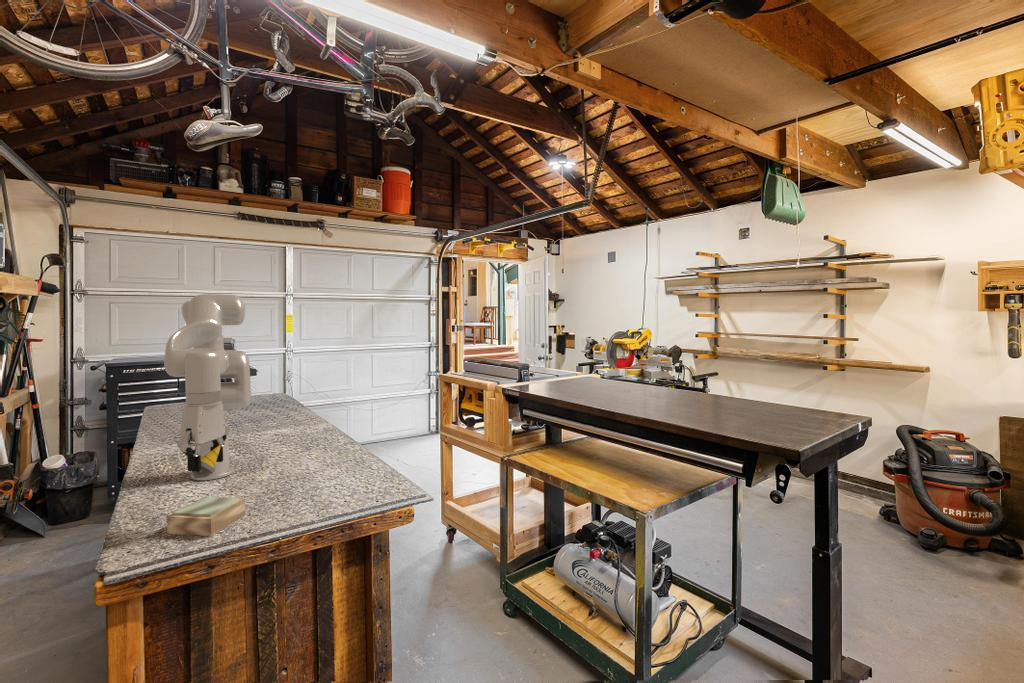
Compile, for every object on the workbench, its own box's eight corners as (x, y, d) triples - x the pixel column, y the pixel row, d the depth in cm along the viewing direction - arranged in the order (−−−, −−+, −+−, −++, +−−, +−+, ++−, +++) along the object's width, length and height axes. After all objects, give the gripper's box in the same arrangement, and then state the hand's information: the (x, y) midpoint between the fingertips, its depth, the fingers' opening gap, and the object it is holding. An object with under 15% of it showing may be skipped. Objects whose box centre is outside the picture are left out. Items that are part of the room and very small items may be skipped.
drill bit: (186, 477, 116) (213, 444, 122) (206, 485, 116) (232, 452, 122) (181, 471, 111) (209, 436, 118) (202, 479, 112) (229, 444, 118)
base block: (167, 533, 113) (166, 513, 112) (205, 512, 124) (204, 495, 124) (211, 536, 111) (210, 516, 111) (245, 514, 123) (244, 497, 123)
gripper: (216, 392, 125) (218, 455, 126) (160, 404, 108) (163, 477, 109) (241, 393, 124) (242, 456, 125) (189, 405, 107) (192, 478, 108)
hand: (206, 465), depth 117 cm, fingers closed on drill bit, 6 cm apart
